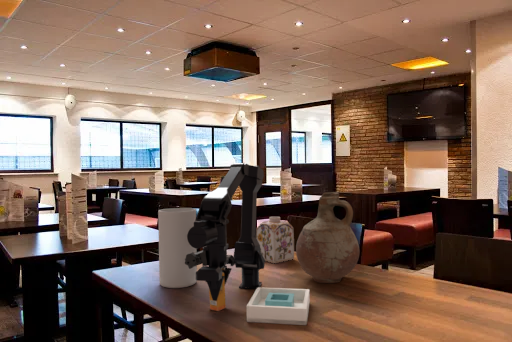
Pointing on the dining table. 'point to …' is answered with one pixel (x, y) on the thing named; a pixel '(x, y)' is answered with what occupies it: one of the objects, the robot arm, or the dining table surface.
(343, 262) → the jug
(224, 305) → the supplement box
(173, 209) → the cylinder vase
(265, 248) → the decorative jar
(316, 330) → the dining table surface
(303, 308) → the walled tray
